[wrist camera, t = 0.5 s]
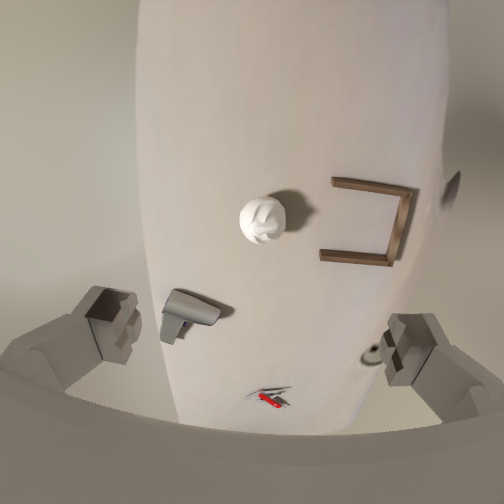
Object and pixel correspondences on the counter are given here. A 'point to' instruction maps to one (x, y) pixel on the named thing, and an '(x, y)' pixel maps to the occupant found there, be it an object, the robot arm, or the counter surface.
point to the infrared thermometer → (184, 315)
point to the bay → (396, 232)
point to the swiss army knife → (267, 397)
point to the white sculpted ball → (263, 220)
